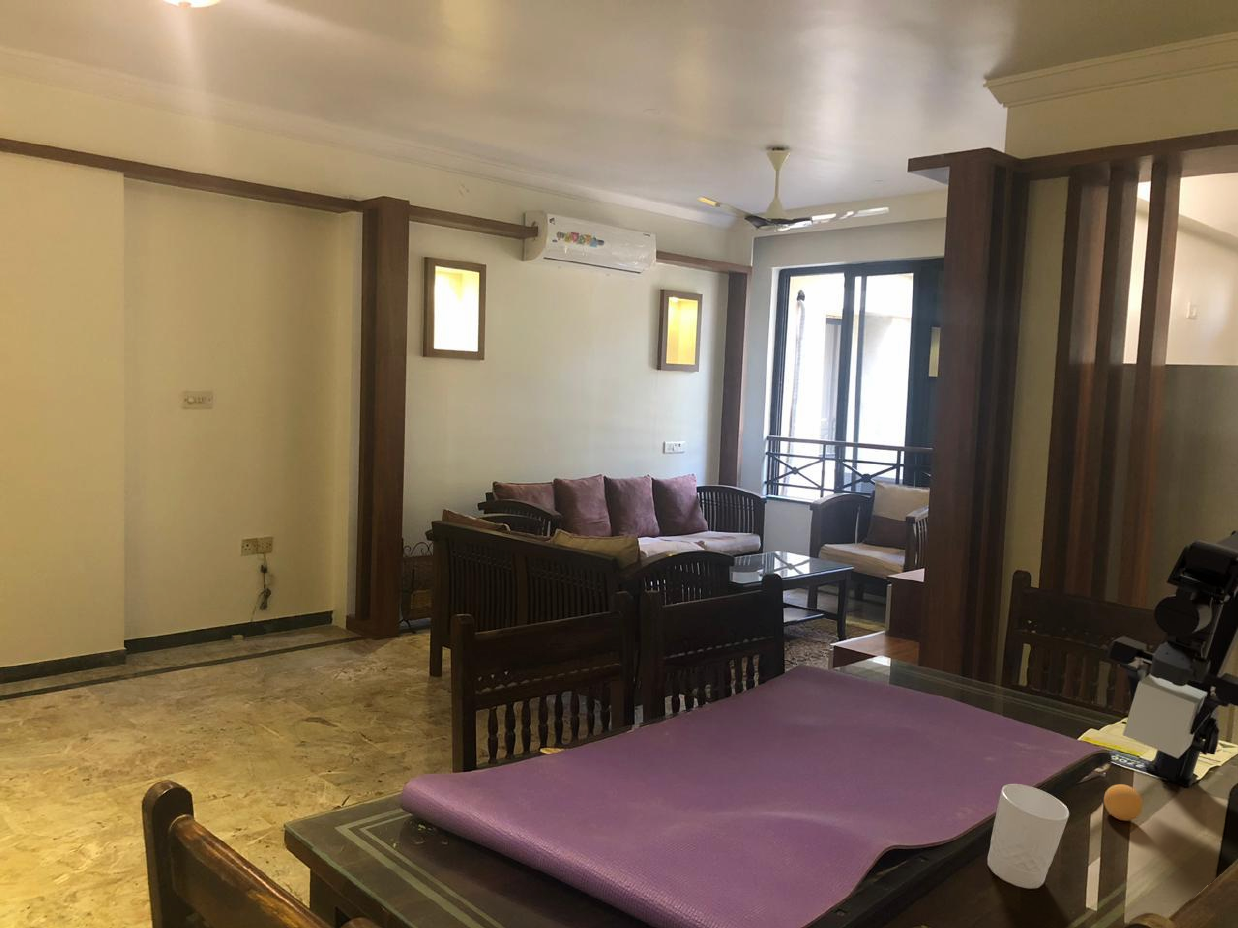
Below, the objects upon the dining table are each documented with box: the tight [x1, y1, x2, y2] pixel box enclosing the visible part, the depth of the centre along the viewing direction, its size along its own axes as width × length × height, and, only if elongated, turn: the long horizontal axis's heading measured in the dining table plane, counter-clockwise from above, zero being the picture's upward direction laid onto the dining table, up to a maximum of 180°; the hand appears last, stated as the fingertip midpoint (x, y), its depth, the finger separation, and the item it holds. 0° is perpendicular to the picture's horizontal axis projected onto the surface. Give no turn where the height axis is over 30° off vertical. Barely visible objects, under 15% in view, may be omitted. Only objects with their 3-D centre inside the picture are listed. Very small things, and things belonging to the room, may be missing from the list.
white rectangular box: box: [1122, 673, 1207, 758], centre depth 143 cm, size 8×8×9 cm
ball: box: [1103, 783, 1144, 822], centre depth 138 cm, size 5×5×5 cm
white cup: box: [987, 783, 1070, 889], centre depth 118 cm, size 8×8×10 cm
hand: (1162, 721), depth 144 cm, fingers closed on white rectangular box, 8 cm apart
